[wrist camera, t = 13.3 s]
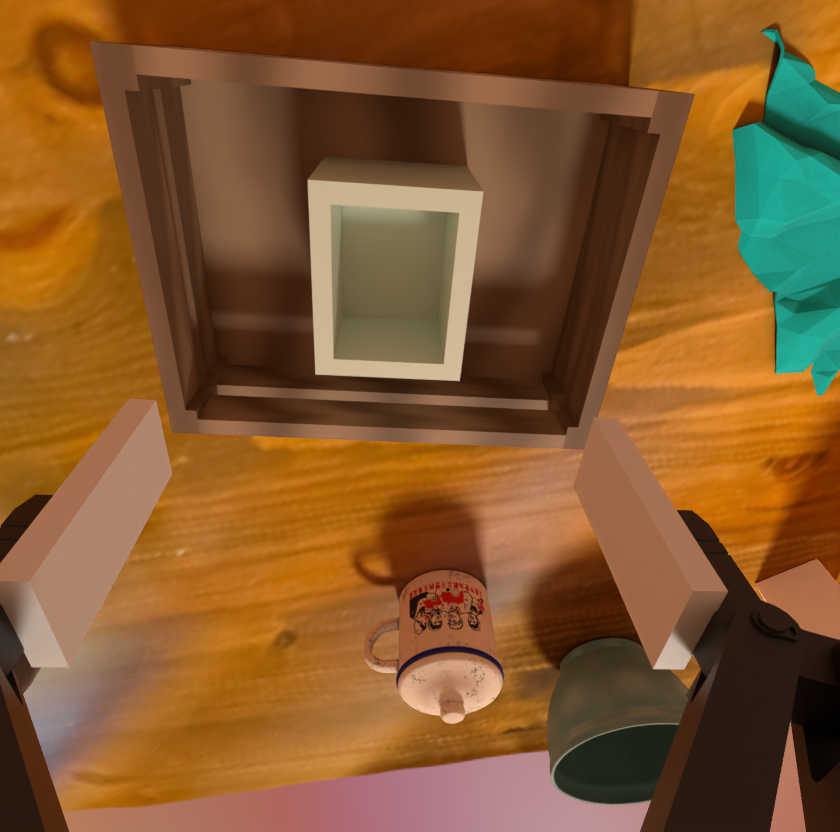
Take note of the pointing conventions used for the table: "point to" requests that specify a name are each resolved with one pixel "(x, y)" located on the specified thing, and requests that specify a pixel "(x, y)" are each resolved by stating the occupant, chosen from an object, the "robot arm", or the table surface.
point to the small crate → (391, 266)
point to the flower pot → (612, 723)
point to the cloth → (795, 214)
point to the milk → (806, 597)
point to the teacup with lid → (442, 646)
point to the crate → (290, 235)
